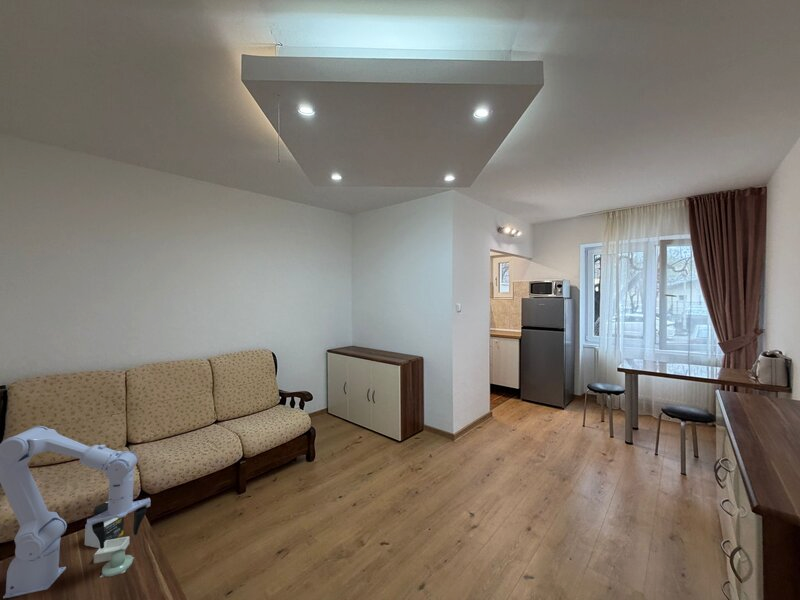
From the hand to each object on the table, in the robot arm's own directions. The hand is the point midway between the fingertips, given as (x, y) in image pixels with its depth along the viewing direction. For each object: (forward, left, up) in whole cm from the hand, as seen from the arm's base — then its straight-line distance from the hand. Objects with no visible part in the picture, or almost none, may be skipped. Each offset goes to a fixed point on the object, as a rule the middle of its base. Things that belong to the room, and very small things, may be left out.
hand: (119, 539), depth 96 cm
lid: (0, 0, -8) cm, 8 cm away
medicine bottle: (-11, +16, -9) cm, 21 cm away
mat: (0, 0, -9) cm, 9 cm away
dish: (-5, +7, -9) cm, 12 cm away
